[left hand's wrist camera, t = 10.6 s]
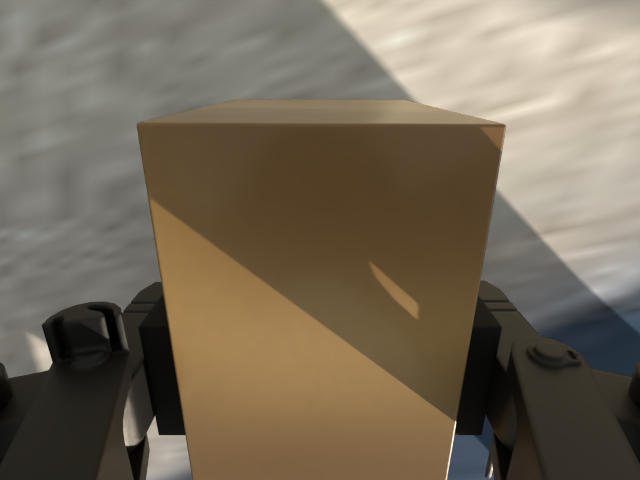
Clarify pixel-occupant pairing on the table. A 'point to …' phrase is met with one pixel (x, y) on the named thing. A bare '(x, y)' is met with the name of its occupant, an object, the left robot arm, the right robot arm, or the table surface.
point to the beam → (320, 281)
